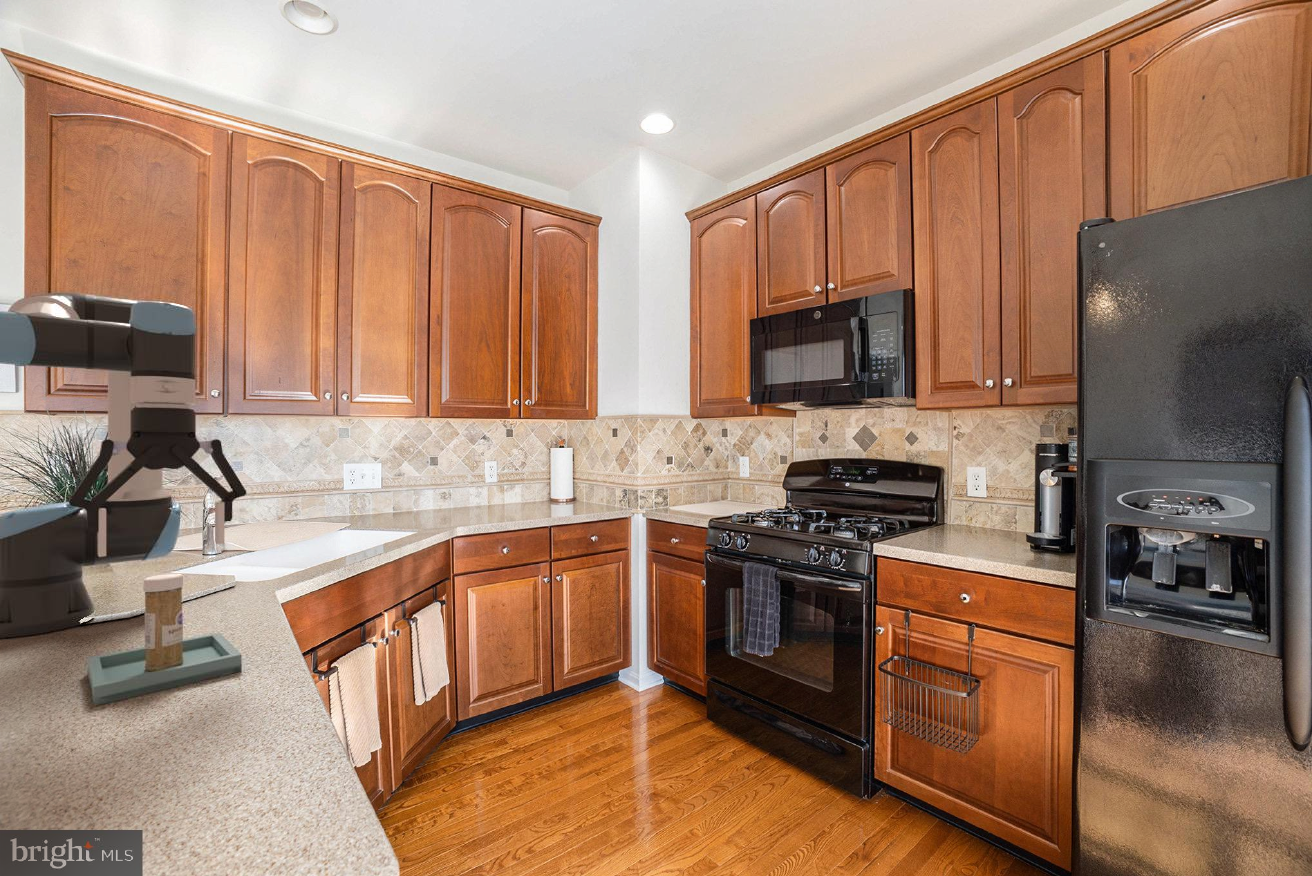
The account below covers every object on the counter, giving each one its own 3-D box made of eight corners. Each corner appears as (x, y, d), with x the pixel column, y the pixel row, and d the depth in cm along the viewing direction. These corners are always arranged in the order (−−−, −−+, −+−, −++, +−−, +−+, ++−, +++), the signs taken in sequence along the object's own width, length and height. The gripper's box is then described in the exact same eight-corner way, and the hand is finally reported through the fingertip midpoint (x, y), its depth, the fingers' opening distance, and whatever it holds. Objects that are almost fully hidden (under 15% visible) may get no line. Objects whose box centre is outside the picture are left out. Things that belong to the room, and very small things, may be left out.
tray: (87, 675, 88) (87, 658, 88) (219, 647, 99) (219, 632, 99) (93, 706, 77) (93, 687, 77) (241, 671, 88) (241, 654, 88)
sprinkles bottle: (182, 667, 87) (181, 576, 87) (141, 674, 85) (140, 580, 85) (185, 658, 91) (184, 571, 91) (146, 665, 88) (146, 575, 89)
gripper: (44, 402, 77) (44, 565, 77) (267, 409, 95) (267, 541, 95) (44, 405, 82) (44, 557, 82) (255, 410, 100) (256, 536, 100)
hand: (164, 549), depth 88 cm, fingers open, 13 cm apart
